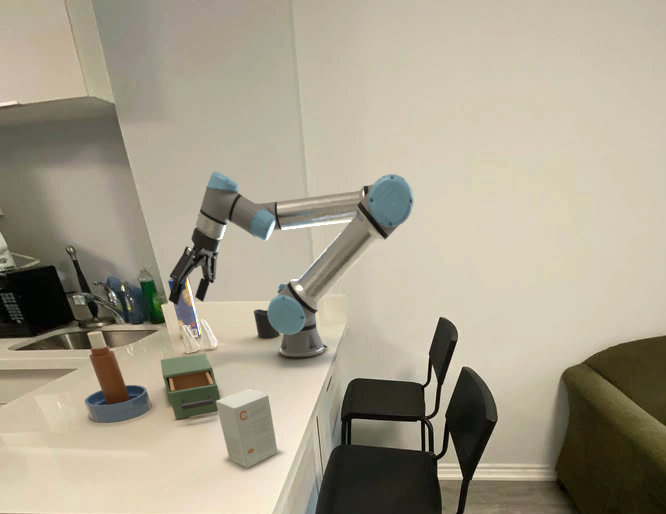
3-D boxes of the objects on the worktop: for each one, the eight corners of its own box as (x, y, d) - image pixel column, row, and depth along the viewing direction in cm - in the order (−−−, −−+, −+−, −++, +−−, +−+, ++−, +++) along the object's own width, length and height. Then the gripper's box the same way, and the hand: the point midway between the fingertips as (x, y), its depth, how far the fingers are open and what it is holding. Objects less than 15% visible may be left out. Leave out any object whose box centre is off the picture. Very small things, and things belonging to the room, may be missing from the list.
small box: (259, 444, 93) (249, 387, 86) (278, 452, 89) (269, 394, 83) (228, 459, 88) (214, 400, 81) (247, 469, 84) (234, 408, 78)
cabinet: (218, 397, 118) (212, 367, 114) (171, 405, 114) (162, 375, 110) (211, 380, 130) (205, 353, 126) (168, 387, 126) (160, 359, 122)
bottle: (137, 406, 113) (111, 329, 102) (125, 415, 108) (97, 335, 98) (118, 406, 113) (91, 329, 103) (105, 414, 109) (76, 335, 99)
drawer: (225, 416, 105) (219, 390, 101) (177, 426, 101) (169, 399, 97) (214, 392, 119) (209, 368, 116) (172, 399, 115) (165, 375, 112)
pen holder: (270, 339, 170) (266, 313, 165) (252, 337, 174) (248, 311, 169) (285, 334, 177) (282, 308, 171) (268, 332, 181) (264, 307, 176)
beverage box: (200, 331, 187) (188, 276, 176) (199, 336, 178) (186, 280, 167) (184, 332, 186) (171, 278, 174) (182, 338, 176) (168, 281, 165)
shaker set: (218, 346, 164) (212, 316, 158) (219, 349, 160) (213, 319, 154) (185, 351, 160) (178, 320, 154) (186, 354, 157) (178, 323, 151)
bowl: (162, 402, 116) (157, 385, 114) (131, 425, 104) (124, 406, 102) (114, 401, 118) (108, 384, 116) (79, 424, 106) (71, 405, 103)
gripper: (220, 229, 134) (199, 291, 144) (169, 222, 112) (149, 296, 122) (240, 242, 134) (218, 304, 144) (194, 237, 112) (171, 310, 122)
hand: (186, 300), depth 133 cm, fingers open, 13 cm apart
